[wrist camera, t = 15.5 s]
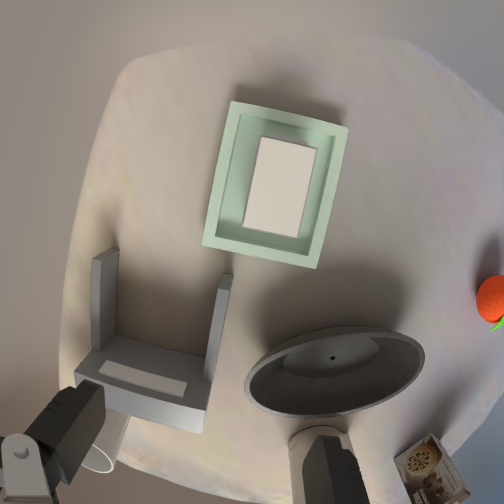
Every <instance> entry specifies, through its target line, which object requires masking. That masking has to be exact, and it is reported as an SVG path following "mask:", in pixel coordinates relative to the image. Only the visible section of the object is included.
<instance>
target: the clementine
mask: <svg viewBox="0 0 504 504" xmlns="http://www.w3.org/2000/svg"><path fill="white" fill-rule="evenodd" d="M476 304H477V309H478V311H479V313H480V315H481V317H482V318H483V319H484V320H485V321H487V322H489V323H492V324H497V325H496V326H495V327H494V328H492V329H490V330H494V329H497V328H498V327H500V326H501V325H503V324H504V276H503V275H494V276H491V277H489V278H488V279H486V280H485V281H484V282H483V283H482V284H481V286H480V288H479V290H478V293H477V299H476Z"/></svg>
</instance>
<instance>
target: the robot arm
mask: <svg viewBox="0 0 504 504" xmlns="http://www.w3.org/2000/svg"><path fill="white" fill-rule="evenodd" d="M105 418H106V407H105V392H104V387H103V386H102V385H100V384H97V383H95V382H92V381H90V380H87V379H84V380H83V381H82V382H81V383H80V384H79V385H78V386H77V388H76V389H75V388H73V387H71V386H69V387H67V388H65V389H63V390H61V391H59V392H58V393H57V394H56V396H55V397H54V398H53V399H52V402H50V403H49V404H48V405H47V406H46V409H44V410H43V411H42V412H41V413H40V414H39V416H38V417H37V418H36V419H35V420H34V422H33V423H32V424H31V426H30V427H29V428H28V429H27V430H26V431H25V433H23V434H12V435H10V436H8V437H6V438H5V437H1V436H0V491H1V490H2V488H6V494H7V497H6V499H4V500H3V504H60V500H59V497H58V494H57V490H56V487H57V485H58V483H59V482H60V481H61V482H63V483H65V484H67V485H70V483H71V481H72V479H73V478H74V476H75V474H76V472H77V470H78V469H79V467H80V465H81V463H82V462H83V460H84V458H85V456H86V455H87V453H88V451H89V449H90V448H91V446H92V444H93V443H94V441H95V439H96V437H97V436H98V434H99V432H100V431H101V429H102V427H103V425H104V422H105ZM288 449H289V461H290V473H291V484H292V495H293V504H370V502H369V499H368V495H367V492H366V488H365V485H364V482H363V480H362V475H361V472H360V471H359V470H360V468H359V465H358V462H357V459H356V457H355V454H354V451H353V448H352V444H351V441H350V438H349V435H348V433H342V432H341V431H340V430H338V429H337V428H334V427H330V426H316V427H311V428H308V429H305V430H303V431H301V432H299V433H298V434H296V435H295V436H294V437H293V438H292V439H291V440H290V442H289V445H288Z"/></svg>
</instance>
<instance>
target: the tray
mask: <svg viewBox="0 0 504 504" xmlns="http://www.w3.org/2000/svg"><path fill="white" fill-rule="evenodd" d="M348 130H349V128H346V127H343V126H339V125H336V124H332V123H329V122H325V121H322V120H318V119H314V118H310V117H306V116H302V115H298V114H294V113H290V112H285V111H281V110H277V109H272V108H267V107H262V106H257V105H252V104H247V103H241V102H235V101H231V103H230V107H229V112H228V116H227V120H226V125H225V129H224V134H223V138H222V143H221V147H220V152H219V157H218V161H217V166H216V171H215V176H214V181H213V186H212V191H211V196H210V201H209V207H208V212H207V217H206V223H205V228H204V234H203V239H202V246H207V247H212V248H216V249H221V250H226V251H231V252H236V253H240V254H245V255H250V256H255V257H260V258H264V259H269V260H274V261H279V262H284V263H288V264H293V265H298V266H303V267H308V268H313V269H316V267H317V264H318V260H319V256H320V252H321V249H322V245H323V241H324V237H325V233H326V229H327V225H328V221H329V217H330V213H331V209H332V205H333V200H334V196H335V192H336V187H337V183H338V178H339V174H340V169H341V165H342V160H343V155H344V150H345V145H346V140H347V135H348ZM268 133H272V134H277V135H282V136H286V137H291V138H295V139H299V140H303V141H307V142H308V144H307V146H311V147H315V148H318V150H317V155H316V160H315V165H314V169H313V174H312V179H311V183H310V188H309V192H308V197H307V201H306V206H305V210H304V214H303V219H302V223H301V227H300V232H299V236H298V239H295V238H290V237H285V236H281V235H276V234H271V233H266V232H261V231H257V230H252V229H247V228H242V227H241V222H242V217H243V212H244V207H245V202H246V198H247V193H248V188H249V183H250V178H251V173H252V169H253V164H254V159H255V154H256V150H257V145H258V140H259V135H263V136H268Z"/></svg>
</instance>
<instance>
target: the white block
mask: <svg viewBox="0 0 504 504" xmlns="http://www.w3.org/2000/svg"><path fill="white" fill-rule="evenodd" d="M307 144H308V142H307V141H303V140H299V139H295V138H291V137H286V136H282V135H277V134H272V133H268V136H263V135H259V140H258V145H257V150H256V154H255V159H254V164H253V169H252V173H251V178H250V183H249V188H248V193H247V198H246V202H245V207H244V212H243V217H242V222H241V227H242V228H247V229H252V230H257V231H261V232H266V233H271V234H276V235H281V236H285V237H290V238H295V239H298V236H299V232H300V227H301V223H302V219H303V214H304V210H305V206H306V201H307V197H308V192H309V188H310V183H311V179H312V174H313V169H314V165H315V160H316V155H317V150H318V148H315V147H311V146H307Z"/></svg>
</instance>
